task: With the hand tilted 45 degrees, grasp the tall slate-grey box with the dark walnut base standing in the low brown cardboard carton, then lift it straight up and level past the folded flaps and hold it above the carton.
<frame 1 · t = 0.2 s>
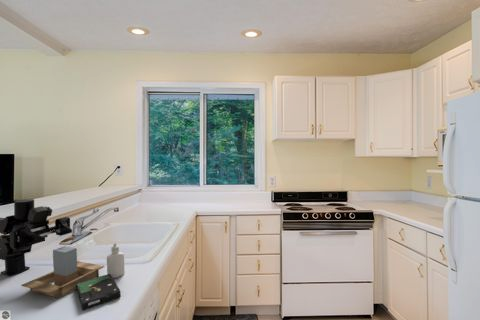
hand: (58, 235, 89), 17 cm above the counter, tool horizontal, fingers open, 9 cm apart
eye dropper bottle: (116, 276, 94), on the counter
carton: (66, 283, 89), on the counter
disk drive: (97, 295, 82), on the counter
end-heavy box: (65, 266, 89), in the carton
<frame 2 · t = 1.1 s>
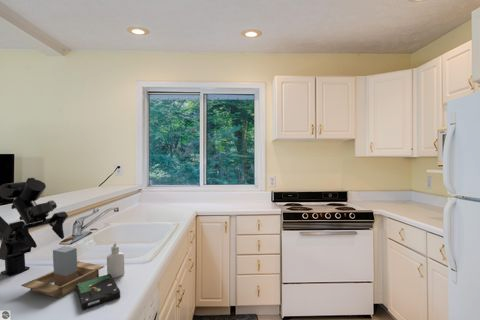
hand: (50, 242, 91), 13 cm above the counter, tool tilted 45°, fingers open, 9 cm apart
nothing on the counter moved.
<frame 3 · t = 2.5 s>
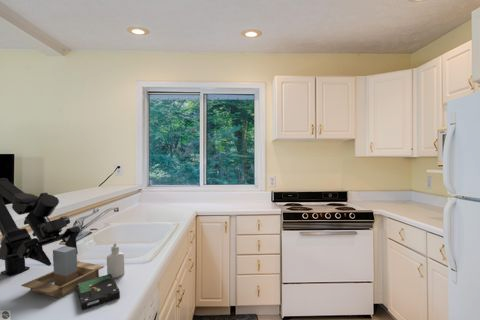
hand: (64, 259, 89), 8 cm above the counter, tool tilted 45°, fingers open, 9 cm apart
nothing on the counter moved.
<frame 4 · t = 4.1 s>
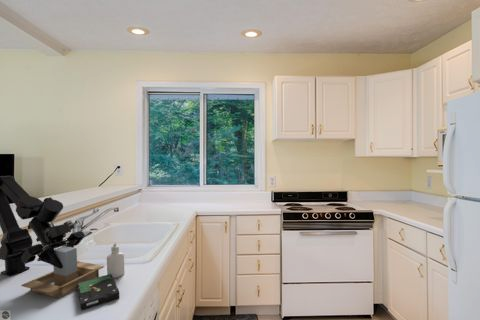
hand: (68, 265, 88), 7 cm above the counter, tool tilted 45°, fingers closed on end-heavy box, 4 cm apart
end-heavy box: (65, 266, 89), in the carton, touching gripper
everything else where it was.
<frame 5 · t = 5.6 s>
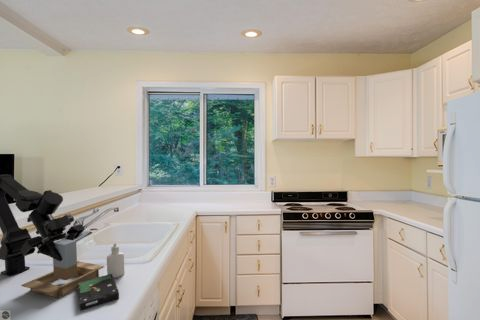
hand: (67, 257, 88), 9 cm above the counter, tool tilted 45°, fingers closed on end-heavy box, 4 cm apart
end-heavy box: (65, 259, 89), point 8 cm above the counter, touching gripper
everything else where it was.
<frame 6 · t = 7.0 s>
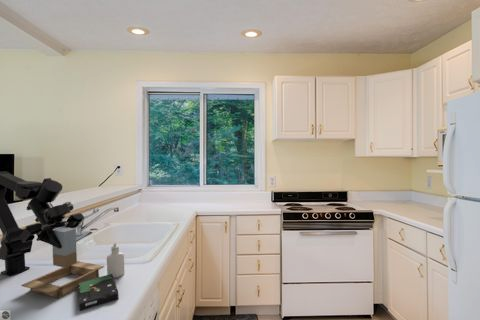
hand: (67, 245, 88), 13 cm above the counter, tool tilted 45°, fingers closed on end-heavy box, 4 cm apart
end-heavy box: (64, 246, 88), point 13 cm above the counter, touching gripper
everything else where it was.
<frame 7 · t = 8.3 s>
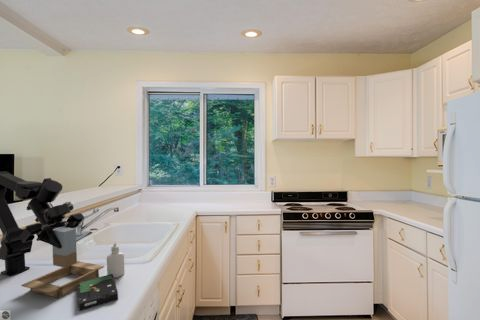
hand: (67, 245, 88), 13 cm above the counter, tool tilted 45°, fingers closed on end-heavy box, 4 cm apart
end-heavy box: (64, 246, 88), point 13 cm above the counter, touching gripper
everything else where it was.
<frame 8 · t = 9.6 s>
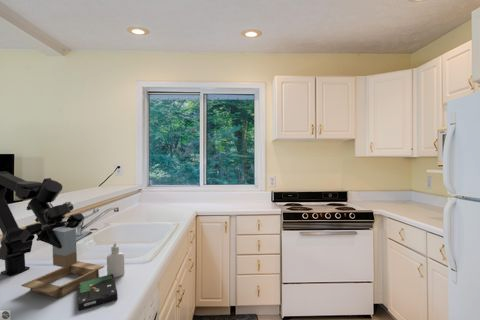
hand: (67, 245, 88), 13 cm above the counter, tool tilted 45°, fingers closed on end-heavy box, 4 cm apart
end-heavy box: (64, 246, 88), point 13 cm above the counter, touching gripper
everything else where it was.
at the end: the gripper is holding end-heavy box; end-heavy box point 12.8 cm above the counter; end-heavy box tilted 0° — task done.
